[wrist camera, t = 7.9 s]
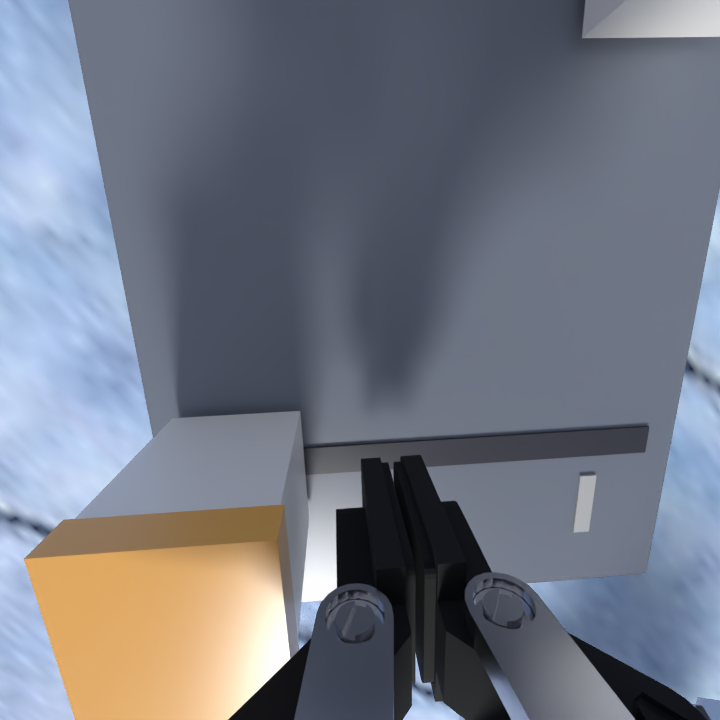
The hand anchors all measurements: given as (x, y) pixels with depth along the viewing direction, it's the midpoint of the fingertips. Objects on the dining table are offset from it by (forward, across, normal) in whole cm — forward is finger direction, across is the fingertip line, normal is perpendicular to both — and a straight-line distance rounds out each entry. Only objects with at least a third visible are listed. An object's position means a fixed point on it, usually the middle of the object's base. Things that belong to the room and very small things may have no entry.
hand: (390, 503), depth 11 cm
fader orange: (+2, +5, 0) cm, 5 cm away
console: (+5, -2, -7) cm, 9 cm away
